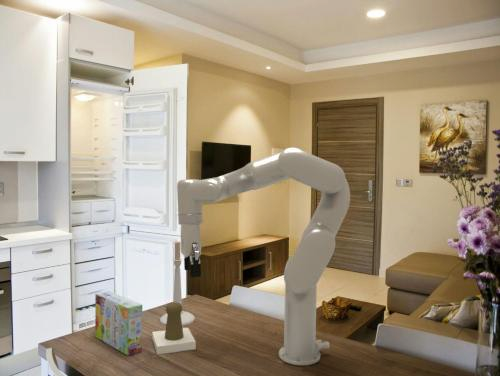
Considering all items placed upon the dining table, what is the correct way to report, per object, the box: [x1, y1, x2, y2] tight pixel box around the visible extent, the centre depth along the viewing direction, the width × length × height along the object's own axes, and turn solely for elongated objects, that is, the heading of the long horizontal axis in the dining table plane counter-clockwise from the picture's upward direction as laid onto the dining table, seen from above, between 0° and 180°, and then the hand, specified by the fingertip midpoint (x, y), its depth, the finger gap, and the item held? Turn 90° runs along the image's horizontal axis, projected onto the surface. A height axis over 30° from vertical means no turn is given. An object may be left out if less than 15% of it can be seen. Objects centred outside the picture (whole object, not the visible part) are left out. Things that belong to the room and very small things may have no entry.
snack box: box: [94, 290, 143, 357], centre depth 137 cm, size 21×6×15 cm, turn 47°
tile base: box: [151, 327, 197, 355], centre depth 137 cm, size 12×12×2 cm
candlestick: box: [159, 240, 196, 327], centre depth 158 cm, size 13×13×30 cm
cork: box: [165, 301, 184, 341], centre depth 137 cm, size 6×6×11 cm
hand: (192, 273), depth 132 cm, fingers open, 9 cm apart
